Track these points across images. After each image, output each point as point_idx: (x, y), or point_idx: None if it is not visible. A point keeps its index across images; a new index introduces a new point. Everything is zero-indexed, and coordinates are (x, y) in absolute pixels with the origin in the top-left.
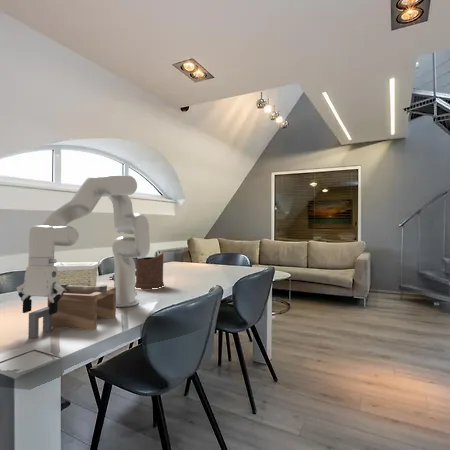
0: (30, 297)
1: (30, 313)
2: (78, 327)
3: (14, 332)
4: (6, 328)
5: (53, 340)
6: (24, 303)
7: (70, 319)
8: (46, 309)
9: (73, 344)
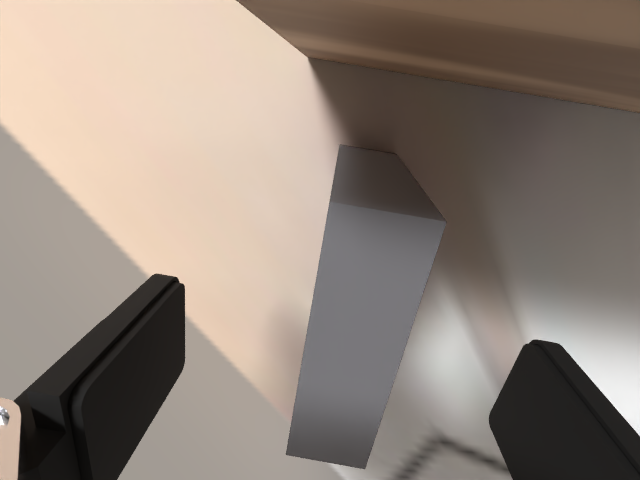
0: (24, 465)
1: (305, 456)
2: (636, 111)
3: (147, 206)
4: (8, 116)
5: (489, 341)
6: (110, 476)
7: (599, 97)
8: (405, 329)
9: (628, 395)
